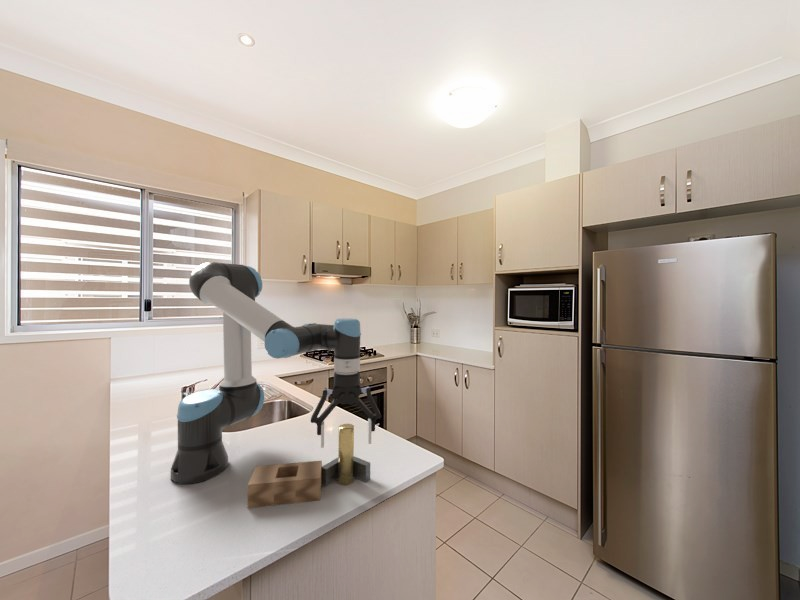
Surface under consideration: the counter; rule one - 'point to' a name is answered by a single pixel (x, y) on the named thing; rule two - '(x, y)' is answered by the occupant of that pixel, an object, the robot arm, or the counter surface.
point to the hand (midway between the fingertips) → (346, 443)
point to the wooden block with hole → (285, 484)
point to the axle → (346, 454)
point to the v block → (359, 471)
